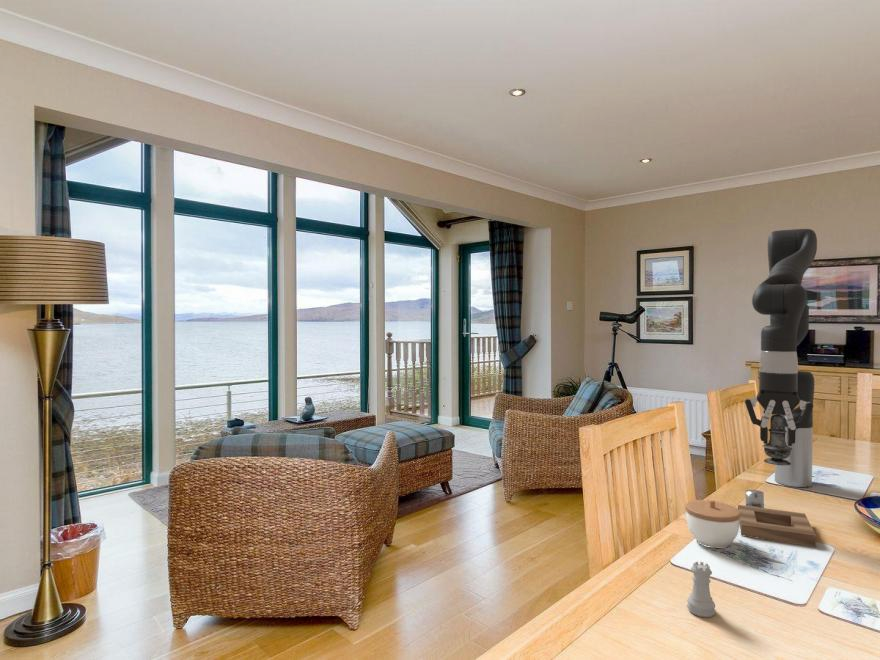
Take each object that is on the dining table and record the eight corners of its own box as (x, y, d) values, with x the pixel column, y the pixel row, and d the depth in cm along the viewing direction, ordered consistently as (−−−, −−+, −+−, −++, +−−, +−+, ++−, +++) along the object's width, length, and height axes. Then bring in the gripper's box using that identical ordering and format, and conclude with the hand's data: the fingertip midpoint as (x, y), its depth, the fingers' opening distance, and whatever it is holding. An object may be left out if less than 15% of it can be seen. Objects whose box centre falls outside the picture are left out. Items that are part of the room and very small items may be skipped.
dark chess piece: (797, 466, 121) (797, 413, 121) (768, 465, 122) (769, 412, 122) (785, 459, 126) (786, 409, 126) (758, 458, 128) (758, 408, 127)
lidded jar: (734, 536, 121) (735, 495, 121) (744, 556, 111) (745, 512, 111) (682, 530, 125) (683, 490, 125) (688, 549, 115) (688, 506, 114)
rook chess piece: (681, 604, 93) (681, 559, 93) (706, 603, 94) (706, 558, 93) (695, 619, 89) (696, 572, 88) (721, 618, 89) (721, 570, 89)
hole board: (737, 514, 134) (737, 504, 134) (804, 523, 128) (804, 513, 128) (741, 535, 122) (741, 524, 122) (815, 547, 115) (815, 535, 115)
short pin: (744, 508, 138) (744, 489, 138) (762, 509, 137) (761, 490, 137) (747, 513, 135) (746, 493, 135) (765, 514, 133) (765, 494, 133)
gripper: (812, 370, 124) (811, 444, 124) (741, 368, 130) (740, 438, 131) (818, 373, 117) (817, 451, 118) (744, 370, 124) (743, 444, 124)
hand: (777, 443), depth 124 cm, fingers closed on dark chess piece, 4 cm apart
